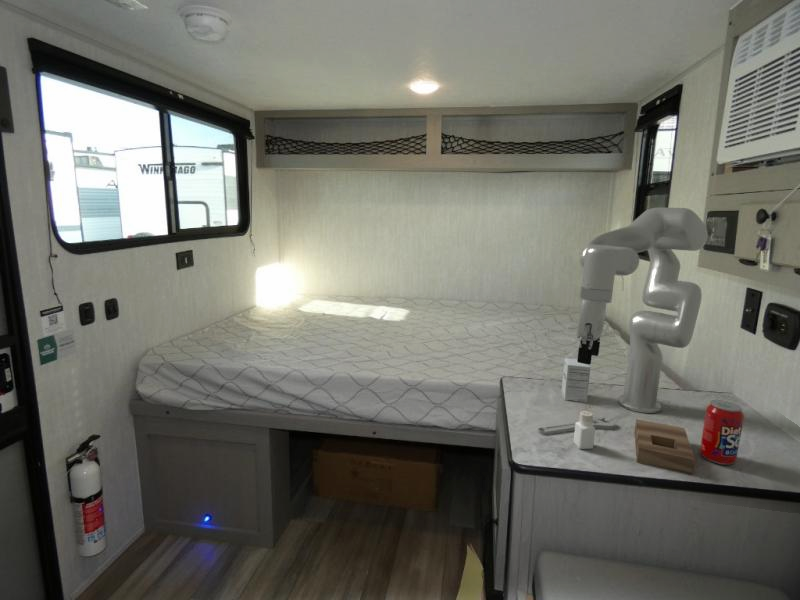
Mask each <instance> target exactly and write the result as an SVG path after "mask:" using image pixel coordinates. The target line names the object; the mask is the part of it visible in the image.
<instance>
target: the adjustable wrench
mask: <svg viewBox="0 0 800 600" xmlns="http://www.w3.org/2000/svg"><path fill="white" fill-rule="evenodd" d="M605 419H606V417H604V416H593V419H592V425H593V426H594V427H595V428H598V429H599V430H606V429H607V430H609V431H610V430H611V431H612V430H615V429H616V425H617V423H616V421H615V420H613V421H611V422H606V421H605ZM575 423H576V422H573V423H565V424H558V425H550V426H549V425H548V426H543V427H542V426H541V427H538V428H537V434H539V433H540V434H543V435H542V436H546V435H545V434H549V435H554V434H553V433H556V434H561V433H560V432H563V433H566V432H565V431H569V432H573V431H572V430H575ZM540 434H539V435H540Z"/></svg>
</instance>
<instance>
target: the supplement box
mask: <svg viewBox="0 0 800 600" xmlns="http://www.w3.org/2000/svg"><path fill="white" fill-rule="evenodd" d="M577 359H578V358H566V357H565V358H564V362H563V370H562V371H563V372H562V382H561V394H562V397H563V398H564V399H565V400H564V401H568V400H573V401H572V402H578V401H581V402H580V403H587V402H588V395H589V393H588V392H589V386H590V385H589V384H590V376H591V366H590V365H588V364H583V363H578V362H577Z"/></svg>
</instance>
